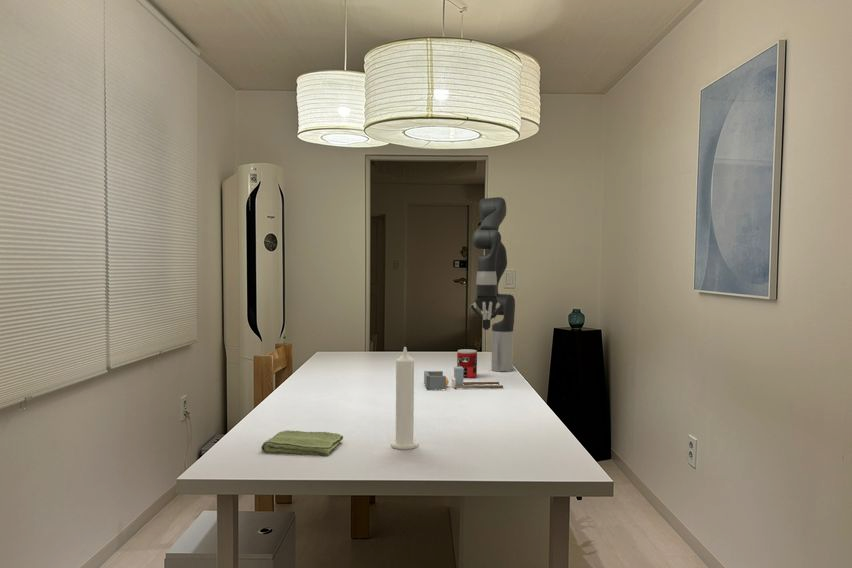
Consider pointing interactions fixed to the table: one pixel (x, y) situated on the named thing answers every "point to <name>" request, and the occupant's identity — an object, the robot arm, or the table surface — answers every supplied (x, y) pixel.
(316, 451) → the washcloth
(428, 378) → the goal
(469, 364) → the canned food
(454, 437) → the table surface
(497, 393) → the table surface
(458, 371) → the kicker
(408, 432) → the candle
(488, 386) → the pair of wooden rails
